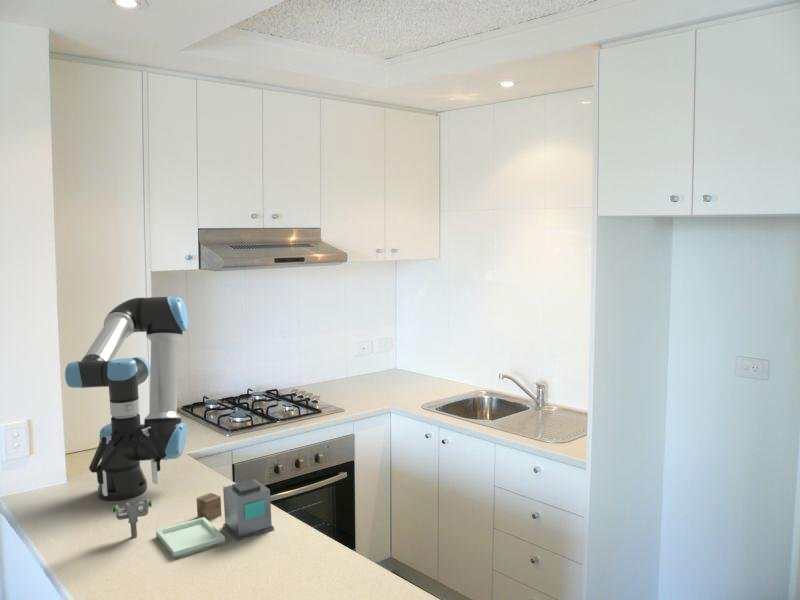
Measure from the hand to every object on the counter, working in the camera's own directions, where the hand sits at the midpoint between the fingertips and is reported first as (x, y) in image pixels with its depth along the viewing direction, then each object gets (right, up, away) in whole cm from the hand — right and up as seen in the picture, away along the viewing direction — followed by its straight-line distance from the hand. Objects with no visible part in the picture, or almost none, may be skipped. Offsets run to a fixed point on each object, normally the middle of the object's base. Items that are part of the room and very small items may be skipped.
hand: (130, 488), depth 198 cm
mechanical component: (0, -14, +2) cm, 15 cm away
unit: (+32, -13, +6) cm, 35 cm away
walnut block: (+18, -12, +15) cm, 26 cm away
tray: (+17, -14, -1) cm, 22 cm away
